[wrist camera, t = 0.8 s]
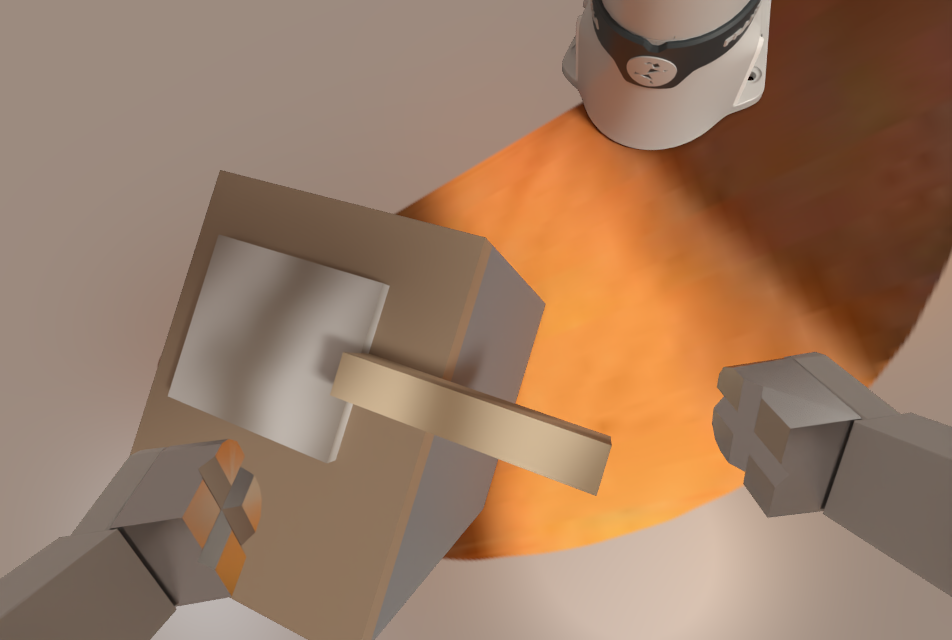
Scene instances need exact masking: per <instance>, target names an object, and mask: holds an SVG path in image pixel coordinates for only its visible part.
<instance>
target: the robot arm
mask: <svg viewBox="0 0 952 640" xmlns="http://www.w3.org/2000/svg"><path fill="white" fill-rule="evenodd" d="M583 7H584V8H585V10H584V12H583V15H581V16H579V17H578V20H577V24H576V36H575V37H574V40H573V41H572V43H571V45H570V47H569V49H568V51H567V53H566V55H565V57H564V59H563V63H562V71H563V74H564V75H565V77H566V78H567V79H568V81H569V82H570V83H571V84H572V85H573V86H575V87H576V88H577V89H578V91H579V93H580V95H581V97H582V100H583V103H584V106H585V109H586V111H587V113H588V115H589V117H590V119H591V120H592V122H593V123H594V124H595V126H596V127H597V128H598V129H599V130H600V131H601V132H602V133H603V134H605V135H606V136H607V137H609V138H610V139H612V140H614V141H615V142H618V143H620V144H622V145H625V146H628V147H632V148H636V149H644V150H659V149H667V148H672V147H676V146H679V145H682V144H685V143H687V142H689V141H691V140H693V139H695V138H697V137H699V136H700V135H702V134H704V133H705V132H706V131H708V130H709V129H710V128H711V127H713V126H714V125H715V124H716V123H717V122H718V121H720V120H721V119H722V118H724V117H725V116H727V115H728V114H730V113H733V112H736V111H739V110H742V109H744V108H747V107H749V106H751V105H753V104H755V103H756V102H757V101H758V100H759V99H760V98H761V96H762V93H763V91H764V87H765V74H766V61H767V47H768V34H769V20H770V7H771V0H584V2H583ZM749 76H751V77H753V79H754V80H752V81H749V80H748V78H749ZM717 388H718V389H719V390H720V391H721V393H722V394H723V395H724V397H723V398H722V399H721V400H720V402H719V403H718V404H717V405H716V406H715V407H714V411H713V421H712V425H713V430H714V435H715V440H716V442H717V444H718V446H719V449H720V451H721V452H722V454H723V455H724V457H725V458H726V460H727V461H728V463H730V464H732V465H734V466H736V467H737V468H739V469H741V470H743V471H745V476H744V483H743V484H744V485H745V487H746V488H747V489H748V491H749V492H750V494H751V495H752V496H753V498H754V499H755V501H756V502H757V503H758V505H759V506H760V507H761V509H762V510H763V512H764V513H765V514H766V516H767V517H777V516H785V515H792V514H801V513H810V512H818V511H824V512H823V514H824V515H826V516H827V517H829V518H830V519H832V520H833V521H835V522H837V523H838V524H840V525H841V526H843V527H844V528H846V529H847V530H849V531H850V532H852V533H854V534H855V535H857V536H858V537H860V538H861V539H863V540H864V541H866V542H868V543H869V544H871V545H872V546H874V547H875V548H877V549H878V550H880V551H881V552H883V553H885V554H886V555H888V556H889V557H891V558H892V559H894V560H895V561H897V562H899V563H900V564H902V565H903V566H905V567H906V568H908V569H910V570H911V571H913V572H914V573H916V574H917V575H919V576H920V577H922V578H923V579H925V580H927V581H928V582H930V583H931V584H933V585H934V586H936V587H937V588H939V589H940V590H942V591H943V592H945V593H947V594H948V595H950V596H951V597H952V427H951V426H948V425H945V424H942V423H939V422H937V421H934V420H931V419H928V418H925V417H922V416H919V415H916V414H914V413H905V414H900V413H899V412H897V411H896V410H895V409H894V408H892V407H891V406H890V405H889V404H887V403H886V402H884V401H883V400H882V399H881V398H880V397H878V396H877V395H876V394H874V393H873V392H871V390H869V389H868V388H867V387H866V386H864V385H863V384H862V383H860V382H859V381H858V380H857V379H855V378H854V377H853V376H851V375H850V374H849V373H848V372H846V371H845V370H844V369H843V368H841V367H840V366H839V365H837V364H836V363H835V362H834V361H832V360H831V359H830V358H829V357H827V356H826V355H824V354H820V353H817V352H812V353H806V354H800V355H794V356H788V357H784V358H782V359H774V360H767V361H761V362H754V363H748V364H741V365H734V366H728V367H723V369H722V371H721V372H720V374H719V378H718V384H717ZM244 457H245V455H244V453H243V451H242V449H241V448H240V446H239V444H238V442H237V441H234V440H231V439H224V440H215V441H207V442H199V443H191V444H183V445H175V446H170V447H162V448H154V449H146V450H140V451H138V452H136V453H134V454H132V455H130V456H129V458H128V459H127V460H126V462H125V463H124V464H123V466H122V467H121V468H120V470H119V471H118V472H117V474H116V475H115V477H114V478H113V479H112V481H111V482H110V483H109V485H108V486H107V487H106V488H105V490H104V491H103V492H102V494H101V495H100V496H99V498H98V499H97V500H96V502H95V503H94V505H93V506H92V507H91V509H90V510H89V511H88V513H87V514H86V515H85V517H84V518H83V519H82V521H81V522H80V523H79V525H78V526H77V527H76V529H75V530H74V531H73V533H72V534H71V535H70V536H66V537H59V538H58V539H57V540H55V541H54V542H52V543H51V544H49V545H48V546H47V547H45V548H44V549H42V550H41V551H40V552H38V553H37V554H35V555H34V556H32V557H31V558H29V559H28V560H27V561H25V562H24V563H23V564H21V565H19V566H18V567H17V568H15V569H14V570H12V571H11V572H10V573H8V574H7V575H5V576H4V577H2V578H1V579H0V640H150V639H151V638H152V637H153V636H154V635H155V634H156V632H157V631H158V630H159V629H160V628H161V627H162V625H163V624H164V623H165V622H166V621H167V620H168V619H169V618H170V616H171V615H172V614H173V613H174V612H175V611H176V606H182V605H187V604H193V603H199V602H204V601H210V600H216V599H221V598H227V597H232V595H233V592H234V589H235V586H236V584H237V581H238V578H239V576H240V573H241V570H242V568H243V565H244V562H245V559H246V555H245V553H244V550H243V548H242V545H243V544H244V543H245V542H246V541H247V540H248V539H249V538H250V537H251V536H252V535H253V534H254V533H255V532H256V529H257V526H258V523H259V520H260V517H261V505H262V497H261V492H260V487H259V484H258V482H257V480H256V477H255V475H253V474H252V473H250V472H248V471H247V470H245V469H244V468H242V467H241V464H242V462H243V460H244Z"/></svg>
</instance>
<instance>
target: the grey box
mask: <svg viewBox="0 0 952 640" xmlns="http://www.w3.org/2000/svg"><path fill="white" fill-rule="evenodd" d="M218 235H222V236H226V237H229V238H233V239H236V240H239V241H243V242H246V243H249V244H253V245H256V246H259V247H263V248H266V249H269V250H273V251H276V252H280V253H283V254H286V255H290V256H293V257H296V258H300V259H303V260H306V261H310V262H313V263H316V264H320V265H323V266H327V267H330V268H333V269H337V270H340V271H343V272H347V273H350V274H353V275H357V276H360V277H363V278H367V279H370V280H374V281H377V282H380V283H383V284H386V285H389V286H390V287H389V290H388V293H387V296H386V300H385V303H384V306H383V309H382V312H381V316H380V319H379V322H378V325H377V329H376V332H375V335H374V338H373V341H372V345H371V348H370V351H369V354H372V355H375V356H378V357H380V358H383V359H386V360H389V361H392V362H395V363H398V364H401V365H404V366H407V367H410V368H412V369H415V370H418V371H421V372H424V373H427V374H430V375H433V376H436V377H439V378H442V379H444V380H447V381H450V382H453V383H456V384H459V385H462V386H465V387H468V388H471V389H474V390H476V391H479V392H482V393H485V394H488V395H491V396H494V397H497V398H500V399H503V400H506V401H508V402H511V403H514V404H515V402H516V399H517V396H518V393H519V389H520V386H521V383H522V379H523V376H524V373H525V370H526V366H527V363H528V360H529V357H530V353H531V350H532V347H533V343H534V340H535V337H536V334H537V330H538V327H539V324H540V321H541V317H542V314H543V311H544V307H545V303H544V302H543V301H542V299H541V298H540V297H539V296H538V295H537V294H536V293H535V292H534V291H533V290H532V288H531V287H530V286H529V285H528V284H527V283H526V282H525V281H524V280H523V278H522V277H521V276H520V275H519V274H518V273H517V272H516V271H515V270H514V269H513V267H512V266H511V265H510V264H509V263H508V262H507V261H506V260H505V259H504V257H503V256H502V255H501V254H500V253H499V252H498V251H497V250H496V249H495V248H494V246H493V245H492V244H491V243H490V242H489V241H488V240H487V239H486V238H485V237H481V236H477V235H474V234H470V233H466V232H462V231H458V230H454V229H450V228H446V227H442V226H438V225H434V224H430V223H426V222H422V221H418V220H415V219H411V218H407V217H403V216H399V215H395V214H391V213H387V212H383V211H379V210H375V209H371V208H367V207H363V206H359V205H355V204H351V203H348V202H343V201H340V200H336V199H332V198H328V197H324V196H320V195H316V194H312V193H308V192H304V191H300V190H296V189H292V188H289V187H285V186H281V185H277V184H273V183H269V182H265V181H261V180H257V179H253V178H249V177H245V176H241V175H237V174H234V173H230V172H226V171H222V170H220V172H219V176H218V178H217V182H216V185H215V188H214V191H213V194H212V197H211V201H210V204H209V207H208V210H207V213H206V216H205V220H204V223H203V226H202V229H201V233H200V235H199V239H198V242H197V245H196V249H195V251H194V254H193V258H192V261H191V264H190V267H189V270H188V273H187V276H186V280H185V283H184V286H183V289H182V292H181V295H180V299H179V302H178V305H177V308H176V311H175V314H174V318H173V321H172V324H171V327H170V331H169V333H168V337H167V340H166V343H165V346H164V349H163V352H162V356H161V359H160V362H159V365H158V368H157V371H156V374H155V378H154V381H153V384H152V387H151V390H150V394H149V397H148V400H147V403H146V407H145V409H144V412H143V416H142V419H141V422H140V425H139V428H138V431H137V435H136V438H135V441H134V444H133V447H132V450H131V454H130V455H132V454H134V453H136V452H138V451H140V450H146V449H154V448H162V447H170V446H175V445H183V444H191V443H199V442H207V441H215V440H224V439H231V440H234V441H237V442H238V444H239V446H240V448H241V449H242V451H243V453H244V455H245V457H244V460H243V462H242V464H241V467H242V468H244V469H245V470H247V471H248V472H250V473H252V474H253V475H255V477H256V480H257V482H258V484H259V487H260V492H261V497H262V505H261V517H260V520H259V523H258V526H257V529H256V532H255V533H254V534H253V535H252V536H251V537H250V538H249V539H248V540H247V541H246V542H245V543H244V544H243V545H242V548H243V550H244V553H245V555H246V559H245V562H244V565H243V568H242V570H241V573H240V576H239V578H238V581H237V584H236V586H235V589H234V592H233V595H232V597H230V598H232V599H234V600H235V601H237V602H239V603H241V604H243V605H245V606H247V607H248V608H250V609H252V610H254V611H256V612H258V613H259V614H261V615H263V616H265V617H267V618H269V619H271V620H273V621H274V622H276V623H278V624H280V625H282V626H283V627H285V628H287V629H289V630H291V631H293V632H295V633H297V634H298V635H300V636H302V637H304V638H306V639H308V640H375V638H376V637H377V636H378V635H379V634H380V633H381V631H382V630H383V629H384V628H385V627H386V625H387V624H388V623H389V622H390V621H391V619H392V618H393V617H394V616H395V615H396V613H397V612H398V611H399V610H400V608H401V607H402V606H403V605H404V603H406V601H407V600H408V599H409V598H410V596H411V595H412V594H413V593H414V592H415V590H416V589H417V588H418V587H419V586H420V584H421V583H422V582H423V581H424V580H425V578H426V577H427V576H428V575H429V573H430V572H431V571H432V570H433V568H434V567H435V566H436V565H437V564H438V563H439V561H440V560H441V559H442V558H443V557H444V555H445V554H446V553H447V552H448V551H449V549H450V548H451V547H452V546H453V545H454V543H455V542H456V541H457V540H458V538H459V537H460V536H461V535H462V534H463V532H464V531H465V530H466V529H467V528H468V526H469V525H470V524H471V523H472V522H473V520H474V519H475V518H476V517H477V516H478V514H479V513H480V512H481V511H482V509H483V507H484V504H485V501H486V497H487V494H488V491H489V488H490V484H491V481H492V478H493V474H494V471H495V468H496V465H497V461H498V459H497V458H495V457H492V456H489V455H487V454H484V453H481V452H479V451H476V450H473V449H471V448H468V447H465V446H463V445H460V444H457V443H455V442H452V441H450V440H447V439H444V438H442V437H439V436H436V435H434V434H431V433H428V432H426V431H423V430H420V429H418V428H415V427H413V426H410V425H407V424H405V423H402V422H399V421H397V420H394V419H391V418H389V417H386V416H383V415H381V414H378V413H376V412H373V411H370V410H368V409H365V408H362V407H360V406H357V405H354V404H353V406H352V409H351V412H350V416H349V419H348V422H347V425H346V429H345V432H344V435H343V438H342V441H341V445H340V448H339V451H338V454H337V458H336V460H335V461H332V462H330V463H325V462H322V461H320V460H318V459H315V458H313V457H310V456H308V455H306V454H303V453H301V452H299V451H296V450H294V449H291V448H289V447H287V446H284V445H282V444H280V443H277V442H275V441H273V440H270V439H268V438H265V437H263V436H261V435H258V434H256V433H254V432H251V431H249V430H246V429H244V428H242V427H239V426H237V425H235V424H232V423H230V422H227V421H225V420H223V419H220V418H218V417H216V416H213V415H211V414H209V413H206V412H204V411H201V410H199V409H197V408H194V407H192V406H190V405H187V404H185V403H182V402H180V401H178V400H175V399H173V398H171V397H168V393H169V390H170V387H171V384H172V381H173V378H174V374H175V371H176V368H177V365H178V362H179V359H180V355H181V352H182V349H183V346H184V343H185V340H186V336H187V333H188V330H189V327H190V324H191V321H192V317H193V314H194V311H195V308H196V305H197V302H198V298H199V295H200V292H201V289H202V286H203V283H204V279H205V276H206V273H207V270H208V267H209V264H210V260H211V257H212V254H213V251H214V248H215V245H216V241H217V238H218Z"/></svg>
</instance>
